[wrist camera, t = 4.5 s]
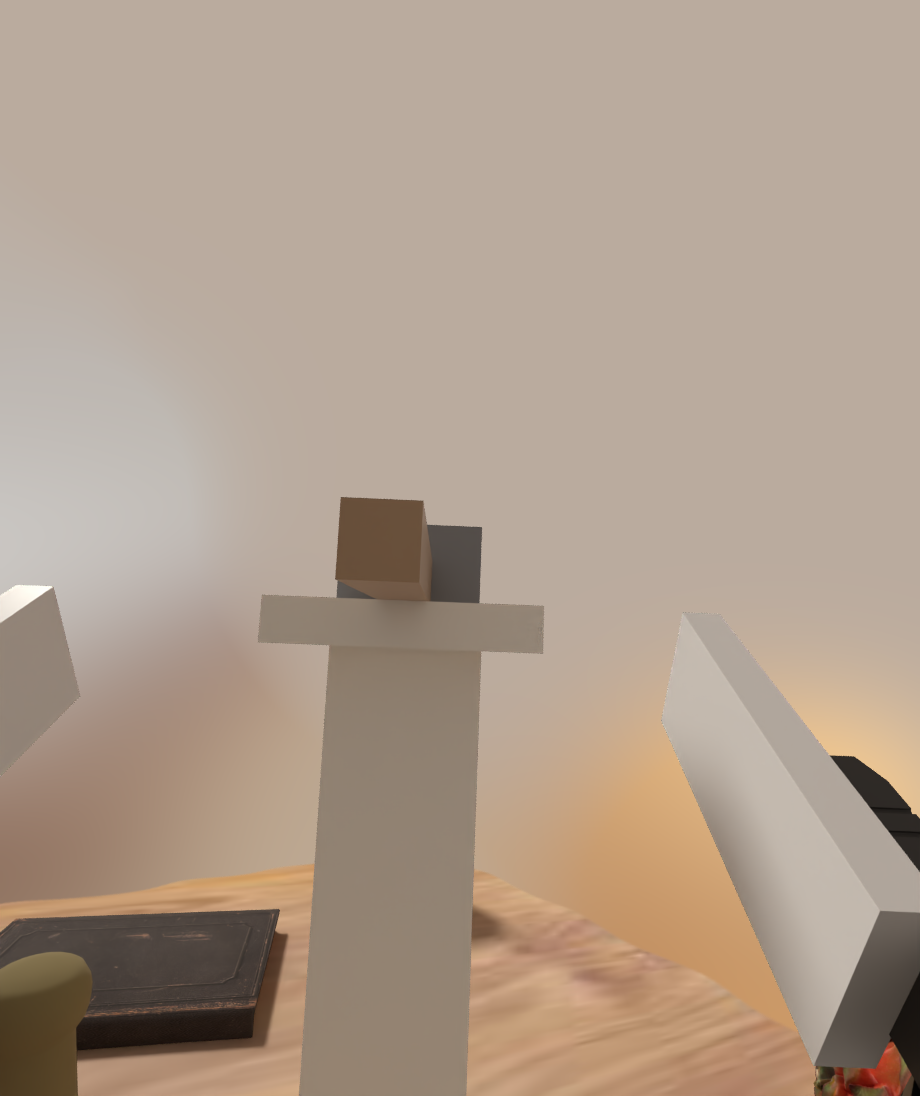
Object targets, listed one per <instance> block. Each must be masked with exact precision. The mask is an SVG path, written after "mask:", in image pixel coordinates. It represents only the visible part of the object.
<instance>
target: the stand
mask: <svg viewBox="0 0 920 1096" xmlns="http://www.w3.org/2000/svg"><path fill="white" fill-rule="evenodd" d="M543 623H544V606H532V605H508V604H482V603H457V602H432V601H406V600H381V599H355V598H327V597H304V596H279V595H262V599H261V612H260V623H259V635H258V642H261V643H287V644H288V643H289V644H312V645H313V644H314V645H329V661H328V675H327V691H326V704H325V719H324V734H323V749H322V764H321V778H320V794H319V808H318V823H317V839H316V852H315V867H314V882H313V896H312V911H311V926H310V941H309V956H308V970H307V985H306V1000H305V1015H304V1029H303V1044H302V1059H301V1074H300V1088H299V1096H466V1085H467V1055H468V1026H469V996H470V967H471V937H472V908H473V878H474V849H475V848H474V847H475V846H474V845H475V817H476V789H477V760H478V758H477V757H478V729H479V701H480V670H481V651H490V652H514V653H540V654H542V653H543V627H544V624H543Z"/></svg>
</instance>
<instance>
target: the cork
mask: <svg viewBox="0 0 920 1096" xmlns="http://www.w3.org/2000/svg"><path fill="white" fill-rule="evenodd" d="M92 984H93V980H92V974H91V971H90V969H89V967H88V966H87V964H86V962H85V961H84V959H83V958H82V957H80V956H77V955H75V954H72V953H66V952H47V953H41V954H35V955H32V956H28V957H25V958H22V959H19V960H17V961H15V962H12V963H10V964H8V965H7V966H5V967H3V968H2V969H0V1096H78V1086H77V1047H76V1027H77V1026H78V1024H79V1023H80V1022H81V1020H82V1019H83V1017H84V1016H85V1014H86V1011H87V1008H88V1006H89V1003H90V998H91V992H92Z"/></svg>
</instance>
